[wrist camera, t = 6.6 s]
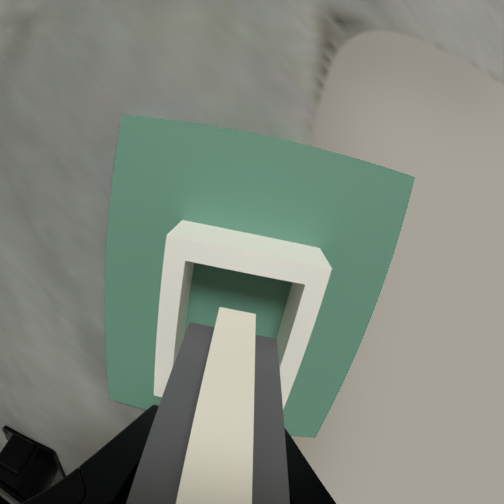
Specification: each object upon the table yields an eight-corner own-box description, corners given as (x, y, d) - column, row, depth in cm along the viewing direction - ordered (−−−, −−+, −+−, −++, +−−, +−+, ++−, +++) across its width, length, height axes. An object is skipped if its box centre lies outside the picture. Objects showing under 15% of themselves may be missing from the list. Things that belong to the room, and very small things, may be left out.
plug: (253, 416, 12) (247, 627, 3) (179, 402, 12) (127, 609, 3) (282, 318, 11) (314, 615, 2) (192, 301, 10) (89, 586, 2)
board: (313, 426, 19) (320, 467, 15) (114, 389, 18) (95, 426, 15) (405, 175, 14) (443, 183, 10) (130, 116, 13) (96, 109, 10)
